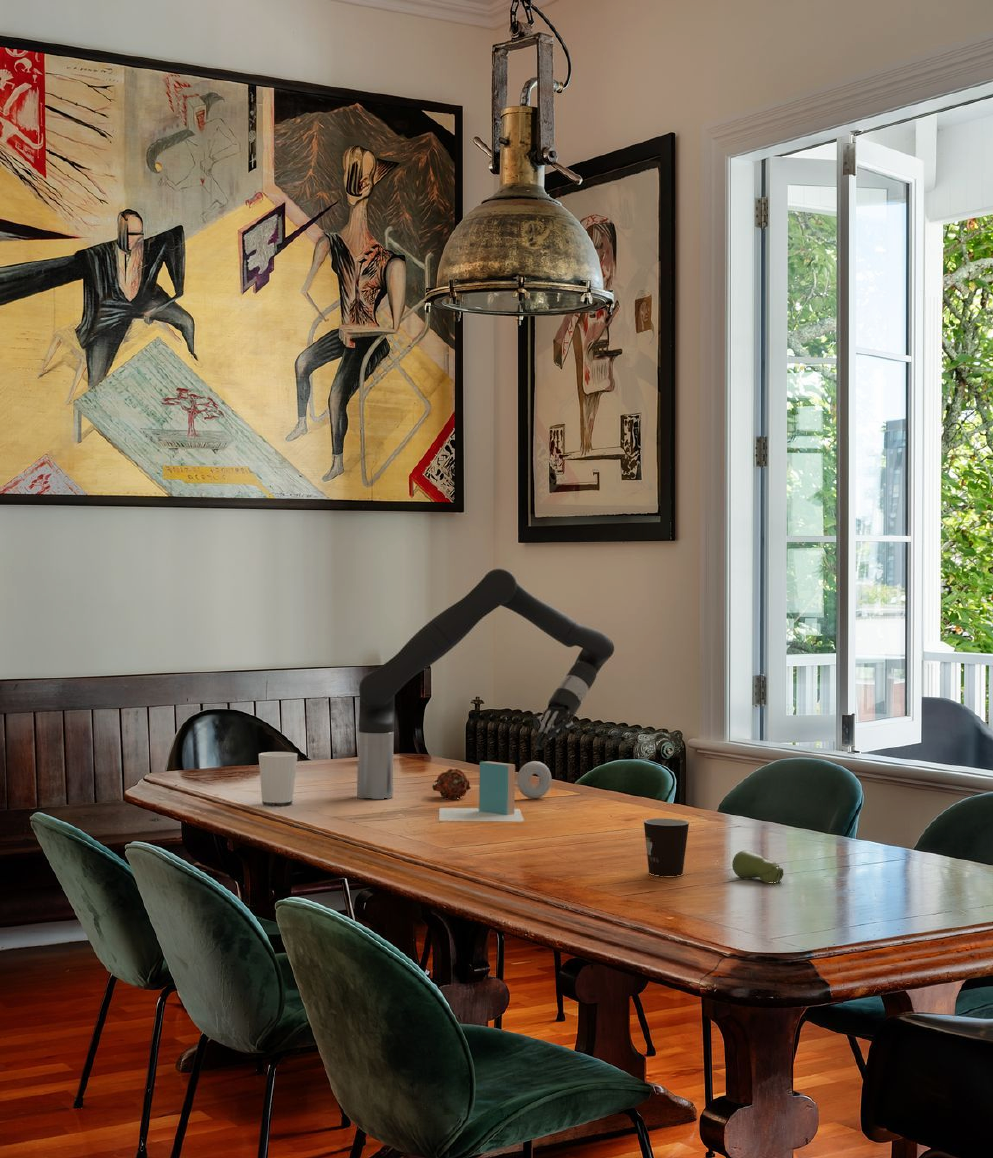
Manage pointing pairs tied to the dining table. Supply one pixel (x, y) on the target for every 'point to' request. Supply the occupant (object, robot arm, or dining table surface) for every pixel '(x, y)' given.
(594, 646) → the robot arm
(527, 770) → the donut
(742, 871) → the pear
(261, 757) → the cup
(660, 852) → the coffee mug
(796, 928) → the dining table surface
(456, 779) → the brown textured round lump
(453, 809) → the felt mat
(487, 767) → the teal rectangular block
